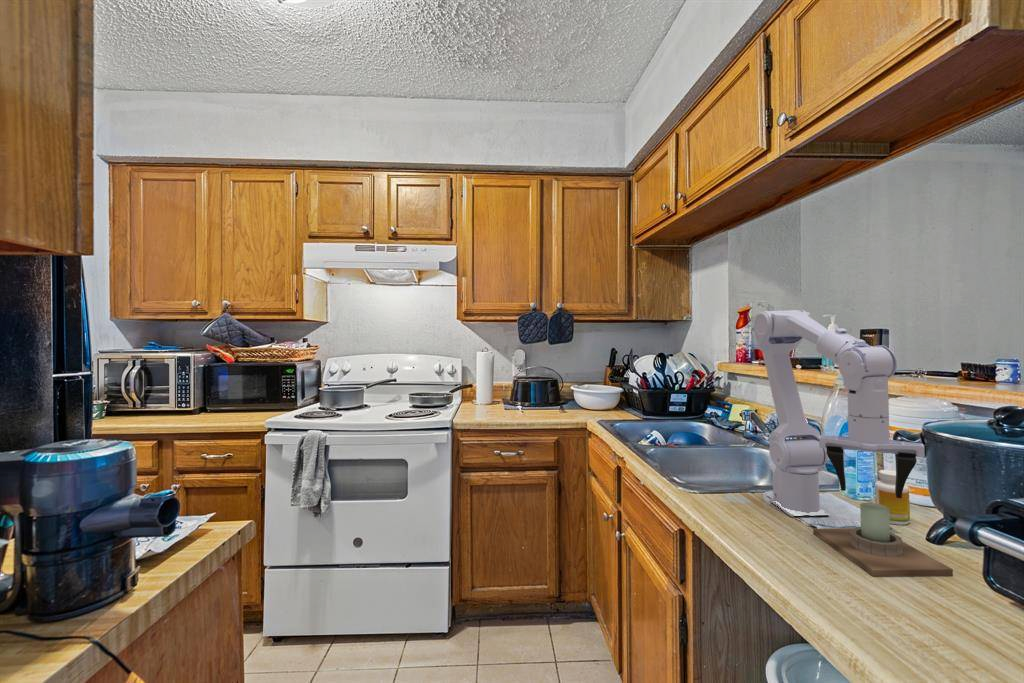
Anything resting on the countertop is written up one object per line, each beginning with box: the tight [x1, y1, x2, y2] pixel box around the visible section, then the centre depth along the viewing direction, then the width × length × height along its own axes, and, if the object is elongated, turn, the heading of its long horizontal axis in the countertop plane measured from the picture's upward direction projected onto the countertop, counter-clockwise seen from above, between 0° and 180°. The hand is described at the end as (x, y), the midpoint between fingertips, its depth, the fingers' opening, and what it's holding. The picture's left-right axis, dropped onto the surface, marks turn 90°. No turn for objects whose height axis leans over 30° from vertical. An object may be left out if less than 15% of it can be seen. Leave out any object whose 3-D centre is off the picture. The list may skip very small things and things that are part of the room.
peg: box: [859, 502, 891, 543], centre depth 81 cm, size 4×4×7 cm
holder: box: [812, 526, 954, 578], centre depth 82 cm, size 16×12×3 cm
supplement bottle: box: [874, 469, 911, 526], centre depth 95 cm, size 5×5×10 cm
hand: (870, 492), depth 82 cm, fingers open, 7 cm apart
